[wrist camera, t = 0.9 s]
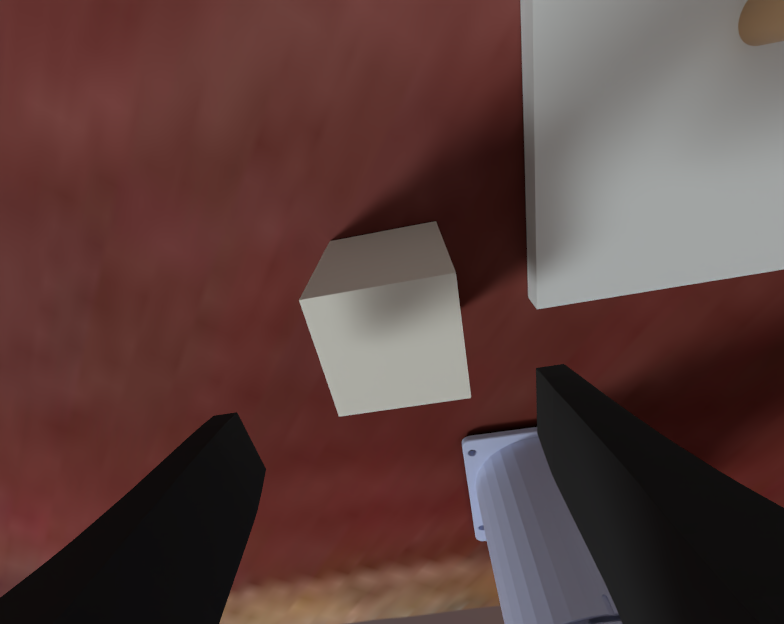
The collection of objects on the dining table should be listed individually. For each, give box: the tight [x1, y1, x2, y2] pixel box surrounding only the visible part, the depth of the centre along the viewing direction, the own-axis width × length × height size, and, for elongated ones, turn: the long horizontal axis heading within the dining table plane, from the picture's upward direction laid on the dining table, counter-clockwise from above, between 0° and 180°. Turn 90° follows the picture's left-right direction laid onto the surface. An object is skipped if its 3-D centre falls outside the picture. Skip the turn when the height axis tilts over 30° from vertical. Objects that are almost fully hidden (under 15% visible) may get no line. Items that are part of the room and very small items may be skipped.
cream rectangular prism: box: [299, 221, 471, 417], centre depth 14 cm, size 5×5×6 cm
